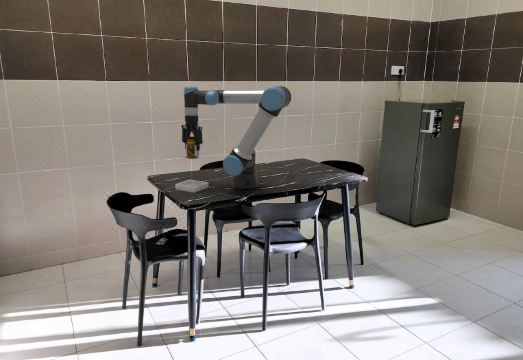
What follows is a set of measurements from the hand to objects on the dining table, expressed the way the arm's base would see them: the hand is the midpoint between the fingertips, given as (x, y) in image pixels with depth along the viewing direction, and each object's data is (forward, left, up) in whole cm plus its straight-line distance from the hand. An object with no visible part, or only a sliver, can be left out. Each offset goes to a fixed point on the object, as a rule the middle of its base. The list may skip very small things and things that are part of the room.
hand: (192, 155), depth 227 cm
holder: (-1, +2, -19) cm, 19 cm away
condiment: (+1, 0, -2) cm, 2 cm away
